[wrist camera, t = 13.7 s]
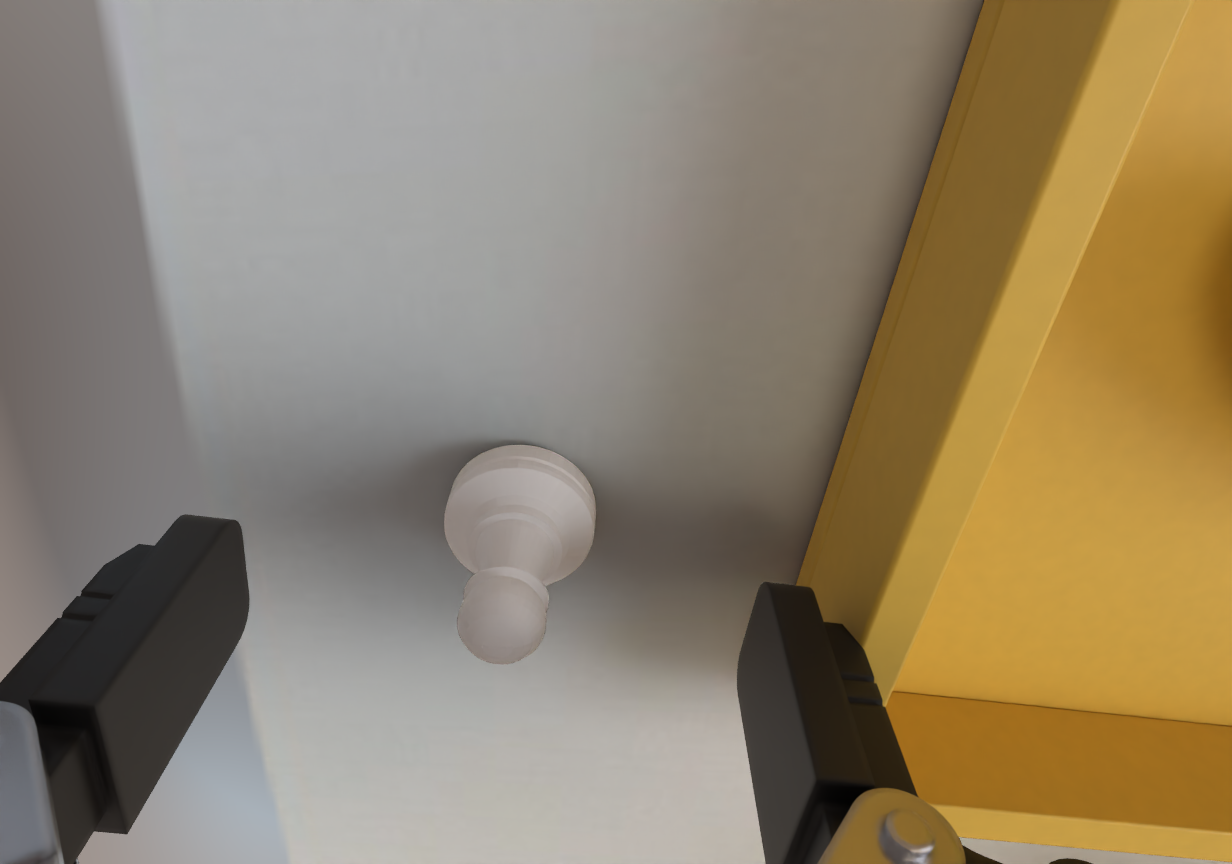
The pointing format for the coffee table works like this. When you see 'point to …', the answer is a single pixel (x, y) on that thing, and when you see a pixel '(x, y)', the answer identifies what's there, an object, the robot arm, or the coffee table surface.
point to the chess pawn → (515, 543)
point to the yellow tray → (1057, 441)
